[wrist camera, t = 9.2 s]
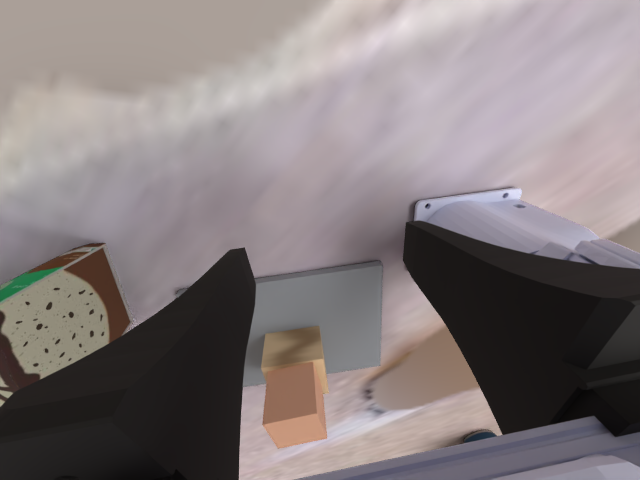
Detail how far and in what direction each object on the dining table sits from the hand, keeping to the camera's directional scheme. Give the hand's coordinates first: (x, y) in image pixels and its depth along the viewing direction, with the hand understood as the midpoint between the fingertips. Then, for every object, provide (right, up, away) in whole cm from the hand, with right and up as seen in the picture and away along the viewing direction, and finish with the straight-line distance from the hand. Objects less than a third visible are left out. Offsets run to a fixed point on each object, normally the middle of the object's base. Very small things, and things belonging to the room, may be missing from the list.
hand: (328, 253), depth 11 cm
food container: (-22, -3, +12) cm, 26 cm away
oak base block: (-3, -11, +18) cm, 21 cm away
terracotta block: (-3, -14, +14) cm, 19 cm away
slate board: (-3, -10, +17) cm, 20 cm away
